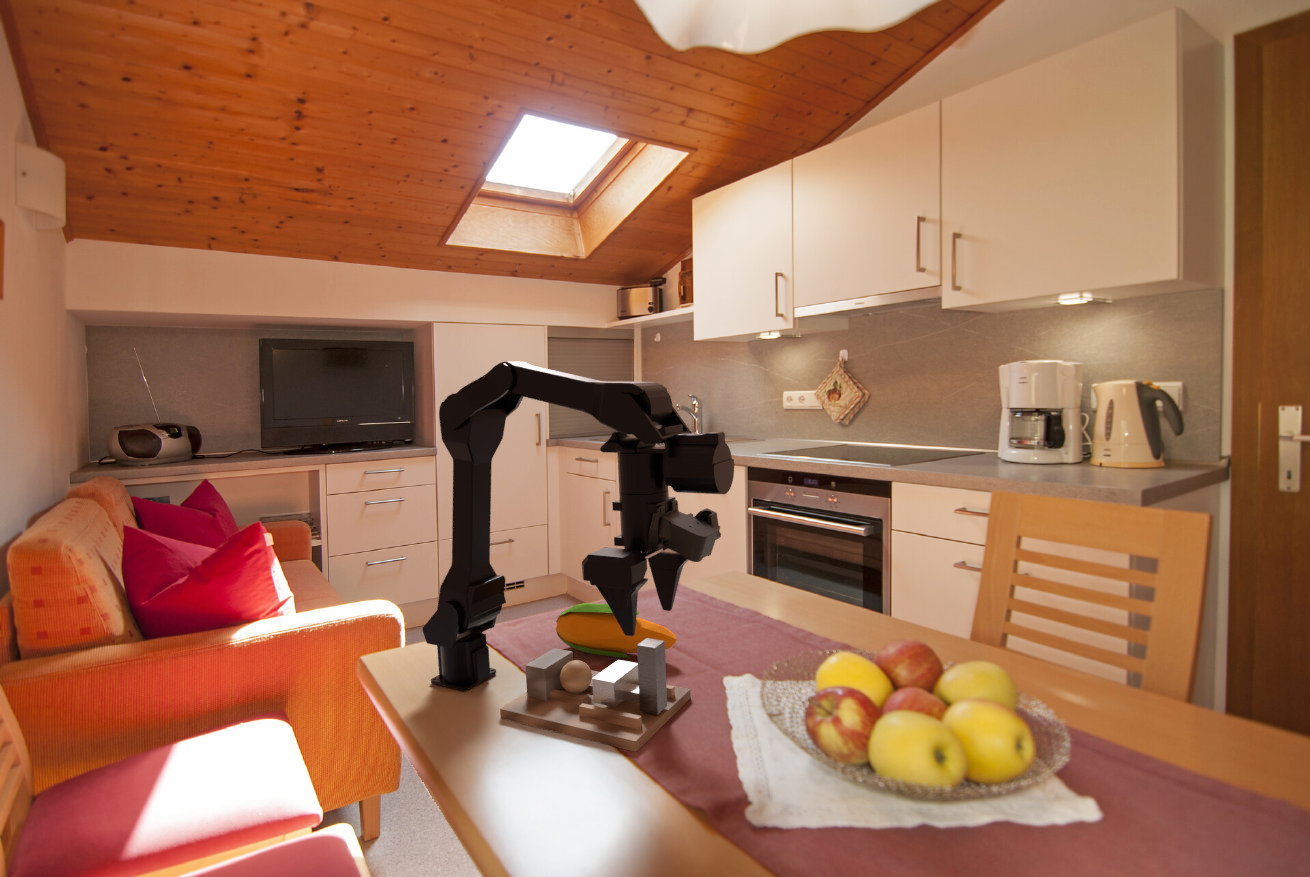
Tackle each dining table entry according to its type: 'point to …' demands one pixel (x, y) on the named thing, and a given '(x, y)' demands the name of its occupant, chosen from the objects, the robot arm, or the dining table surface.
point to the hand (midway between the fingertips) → (649, 622)
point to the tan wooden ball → (576, 676)
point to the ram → (635, 679)
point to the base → (585, 707)
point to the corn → (605, 631)
